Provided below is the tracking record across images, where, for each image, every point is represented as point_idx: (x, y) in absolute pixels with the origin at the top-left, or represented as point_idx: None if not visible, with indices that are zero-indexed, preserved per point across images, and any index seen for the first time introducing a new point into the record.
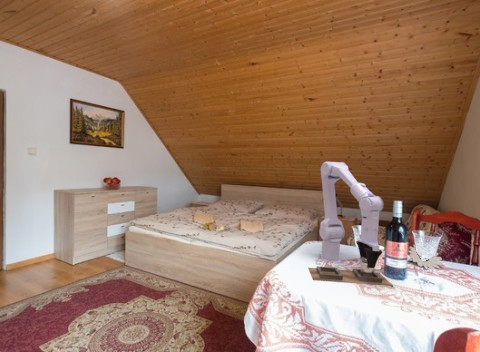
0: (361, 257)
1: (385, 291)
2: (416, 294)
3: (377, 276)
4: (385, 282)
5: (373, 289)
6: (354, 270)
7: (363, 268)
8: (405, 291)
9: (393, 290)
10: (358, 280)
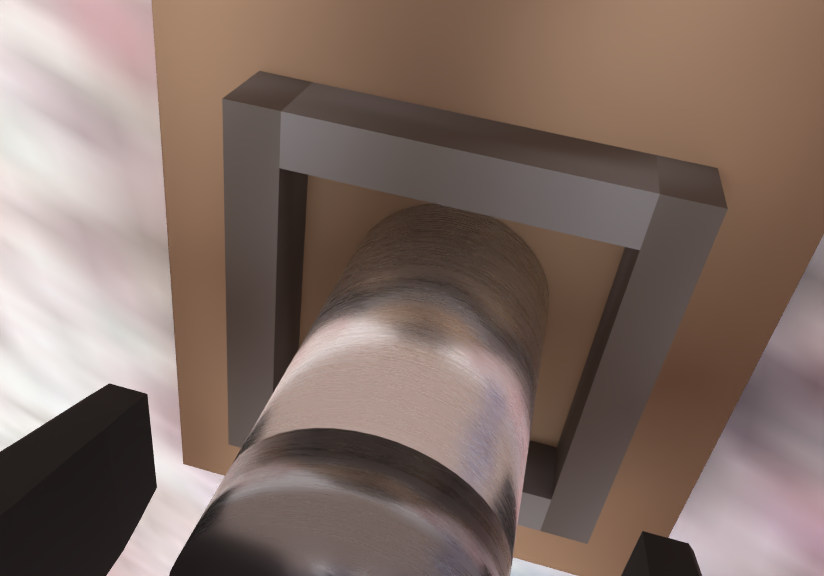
0: (364, 540)
1: (40, 288)
2: None
3: None
4: None
5: (51, 160)
6: (609, 192)
7: (330, 330)
8: None
9: None
10: (288, 69)
